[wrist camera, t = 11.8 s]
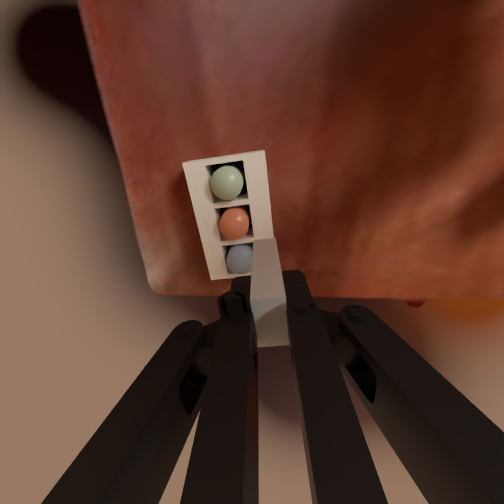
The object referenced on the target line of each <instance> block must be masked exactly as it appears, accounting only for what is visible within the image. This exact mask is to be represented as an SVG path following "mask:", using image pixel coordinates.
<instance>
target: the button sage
mask: <svg viewBox="0 0 504 504" xmlns="http://www.w3.org/2000/svg"><path fill="white" fill-rule="evenodd" d="M244 180H245V177H244V173H243V171H242V170H241V168H240V167H238V166H237V165H235V164H226V165H224V166H222V167H221V168H219V169H218V170H216V171H215V172H214V173H213V175H212V177H211V181H210V185H211V189H212V191H213V193H214V194H215V195H216V196H217V197H218V198H220V199H223V200H231V199H234V198H236V197H237V196H238V195H239V194H240V192H241V189H242V187H243V184H244Z"/></svg>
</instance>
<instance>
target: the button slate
mask: <svg viewBox="0 0 504 504" xmlns="http://www.w3.org/2000/svg"><path fill="white" fill-rule="evenodd" d="M252 255H253V242H251V243H243V244H234V245H231V246H230V249H229V253H228V256H227V260H226V263H227V266H228V268H229V269H230V270H231V271H232V272H233V273H236V274H245V273H248V272H249V271H250V270H251V269H252Z"/></svg>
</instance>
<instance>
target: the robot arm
mask: <svg viewBox="0 0 504 504" xmlns="http://www.w3.org/2000/svg"><path fill="white" fill-rule="evenodd" d="M217 303H218V306H219V311H220V315H221V318H220V319H219V320H218V321H216V322H214V323H211V324H208V325H205V326H203V325H202V323H201V322H199V321H197V320H189V321H185V322H182V323H181V324H179V325H177V327H175V329H173V331H172V332H171V333H170V335H169V336H168V337H167V339H166V340H165V341H164V343H163V344H162V345H161V346H160V348H159V349H158V350H157V352H156V353H155V354H154V356H153V357H152V358H151V360H150V361H149V362H148V364H147V365H146V366H145V367H144V369H143V370H142V371H141V373H140V374H139V375H138V377H137V378H136V379H135V381H134V382H133V383H132V385H131V386H130V387H129V389H128V390H127V391H126V392H125V394H124V395H123V397H122V398H121V399H120V401H119V402H118V403H117V404H116V406H115V407H114V408H113V410H112V411H111V412H110V414H109V415H108V416H107V418H106V419H105V420H104V421H103V423H102V424H101V425H100V427H99V428H98V429H97V431H96V432H95V433H94V435H93V436H92V437H91V439H90V440H89V441H88V443H87V444H86V445H85V446H84V448H83V449H82V450H81V452H80V453H79V454H78V456H77V457H76V458H75V460H74V461H73V462H72V464H71V465H70V466H69V468H68V469H67V470H66V472H65V473H64V474H63V475H62V477H61V478H60V479H59V481H58V482H57V484H56V485H55V486H54V487H53V489H52V490H51V492H50V493H49V494H48V495H47V497H46V498H45V499H44V500H43V502H42V503H41V504H158V503H159V501H160V499H161V497H162V494H163V492H164V490H165V488H166V485H167V483H168V481H169V479H170V476H171V474H172V472H173V470H174V467H175V465H176V463H177V461H178V458H179V456H180V454H181V452H182V449H183V447H184V445H185V443H186V440H187V438H188V436H189V434H190V431H191V429H192V427H193V424H194V422H195V420H196V418H197V416H198V413H199V411H200V414H199V419H198V424H197V428H196V432H195V437H194V442H193V446H192V451H191V456H190V460H189V465H188V469H187V474H186V479H185V483H184V488H183V492H182V497H181V501H180V504H259V493H258V490H259V489H258V488H259V487H258V351H257V345H258V347H269V346H280V345H281V346H282V345H290V351H291V362H292V367H293V373H294V379H295V386H296V393H297V400H298V407H299V413H300V421H301V428H302V434H303V441H304V448H305V454H306V462H307V469H308V475H309V482H310V489H311V495H312V502H313V504H388V502H387V499H386V496H385V494H384V491H383V488H382V485H381V482H380V480H379V477H378V474H377V471H376V469H375V465H374V463H373V460H372V457H371V454H370V451H369V448H368V446H367V443H366V440H365V437H364V434H363V432H362V429H361V426H360V423H359V420H358V417H357V415H356V412H355V409H354V407H353V403H352V401H351V398H350V395H349V392H348V389H347V386H346V384H345V381H344V378H343V375H342V372H343V373H344V375H345V376H346V378H347V379H348V381H349V382H350V384H351V385H352V387H353V389H354V390H355V392H356V393H357V395H358V396H359V398H360V399H361V401H362V402H363V404H364V405H365V407H366V408H367V410H368V412H369V413H370V415H371V416H372V417H373V419H374V421H375V422H376V424H377V425H378V427H379V428H380V430H381V431H382V433H383V434H384V436H385V438H386V439H387V441H388V442H389V444H390V445H391V447H392V448H393V450H394V451H395V453H396V454H397V456H398V457H399V459H400V460H401V462H402V464H403V465H404V466H405V468H406V470H407V471H408V473H409V474H410V476H411V477H412V479H413V480H414V482H415V483H416V485H417V486H418V488H419V489H420V491H421V493H422V494H423V496H424V497H425V499H426V500H427V502H428V503H429V504H504V432H503V431H502V430H501V429H500V428H499V427H497V426H496V425H495V424H494V423H493V422H492V421H491V420H490V419H489V418H488V417H486V416H485V415H484V414H483V413H482V412H481V411H480V410H479V409H478V408H477V407H476V406H475V405H474V404H472V403H471V402H470V401H469V400H468V399H467V398H466V397H465V396H464V395H463V394H462V393H461V392H459V391H458V390H457V389H456V388H455V387H454V386H453V385H452V384H451V383H450V382H449V381H447V380H446V379H445V378H444V377H443V376H442V375H441V374H440V373H439V372H437V370H435V369H434V368H433V367H432V366H431V365H430V364H429V363H428V362H427V361H426V360H425V359H423V358H422V357H421V356H420V355H419V354H418V353H417V352H416V351H415V350H414V349H413V348H411V347H410V346H409V345H408V344H407V343H406V342H405V341H404V340H403V339H402V338H401V337H400V336H399V335H397V334H396V333H395V332H394V331H393V330H392V329H391V328H390V327H389V326H388V325H386V324H385V323H384V322H383V321H382V320H381V319H380V318H379V317H378V316H377V315H376V314H374V313H373V312H372V311H371V310H369V309H368V308H366V307H363V306H359V305H347V306H345V307H343V308H342V309H341V310H340V311H339V313H333V312H328V311H324V310H321V309H320V308H318V306H317V305H316V303H314V302H313V299H312V296H311V293H310V291H309V288H308V285H307V282H306V279H305V276H304V274H303V273H302V272H301V271H300V270H290V271H281V266H280V260H279V254H278V249H277V243H276V238H269V239H260V240H253V255H252V272H251V275H248V276H238V277H236V278H235V279H234V280H233V281H232V284H231V289H230V291H228V292H226V293H224V294H222V295H221V296H220V297H219V298H218V300H217ZM340 369H341V370H342V372H341V370H340Z"/></svg>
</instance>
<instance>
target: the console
mask: <svg viewBox="0 0 504 504" xmlns="http://www.w3.org/2000/svg"><path fill="white" fill-rule="evenodd" d="M241 160H243V163H244V170H245V177H246V184H247V191H248V193H244V194H239V195H238V196H237V197H236V198H234V199H231V200H223V199H220V198H218V197H217V196H216V195H215V194H214V193H213V191H212V189H211V185H210V181H211V177H212V175H213V169H212V165H213V164H220V163H227V162H234V161H241ZM182 164H183V168H184V172H185V176H186V180H187V184H188V188H189V192H190V197H191V201H192V205H193V209H194V213H195V217H196V221H197V225H198V229H199V233H200V237H201V241H202V245H203V249H204V254H205V258H206V262H207V266H208V270H209V274H210V278H211V280H217V279H227V278H236V277H238V276H248V275H251V272H252V269H251V270H250V271H249V272H248V273H245V274H236V273H233V272H232V271H231V270H230V269H229V268H228V266H227V263H226V260H227V256H228V253H229V250H228V245H234V244H243V243H251V242H253V240H260V239H269V238H274V235H273V226H272V216H271V207H270V197H269V187H268V178H267V168H266V159H265V151H264V150H260V151H253V152H246V153H239V154H233V155H226V156H219V157H212V158H205V159H199V160H192V161H188V162H184V163H182ZM247 204H249V205H250V212H251V219H252V226H253V228H248V231H247V233H246V235H245V236H244V237H242V238H241V239H238V240H231V239H228V238H226V237H225V236H224V235H223V234H222V233H221V231H220V229H219V222H220V219H221V217H222V215H221V209H220V208H223V207H231V206H239V205H247Z"/></svg>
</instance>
